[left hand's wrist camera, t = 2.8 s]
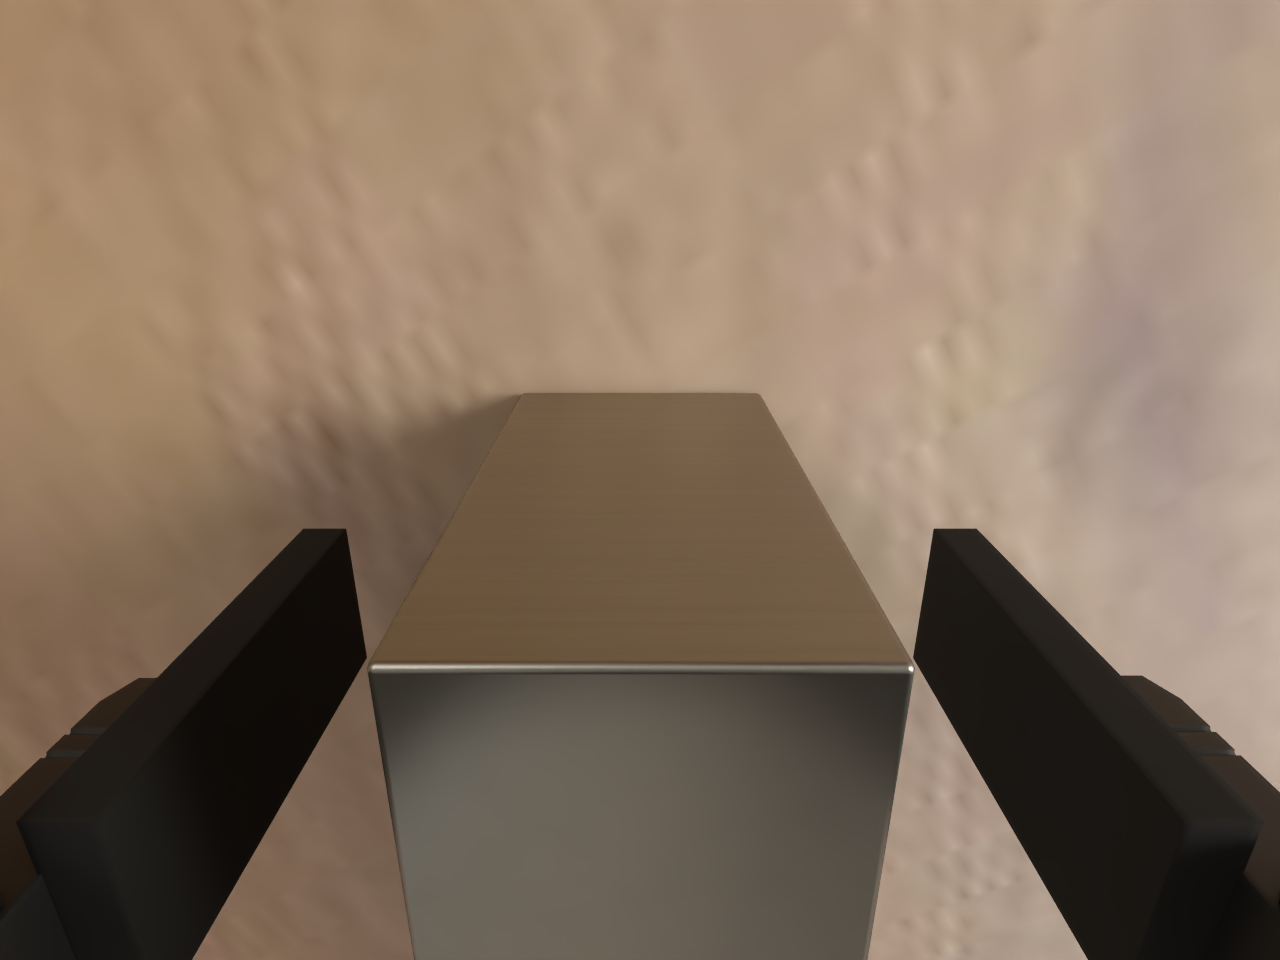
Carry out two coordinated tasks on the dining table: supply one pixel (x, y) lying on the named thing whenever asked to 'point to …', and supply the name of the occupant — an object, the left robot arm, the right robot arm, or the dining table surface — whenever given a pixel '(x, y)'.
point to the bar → (640, 698)
